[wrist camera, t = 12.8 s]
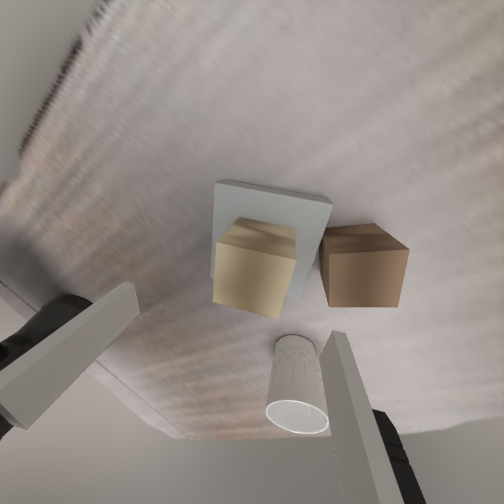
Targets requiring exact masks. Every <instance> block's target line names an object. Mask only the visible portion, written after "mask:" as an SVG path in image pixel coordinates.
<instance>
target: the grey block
mask: <svg viewBox="0 0 504 504" xmlns="http://www.w3.org/2000/svg"><path fill="white" fill-rule="evenodd" d="M333 205H334V204H333V203H332V202H331V201H330V200H329V199H328V198H325V197H319V196H314V195H308V194H302V193H297V192H291V191H286V190H280V189H275V188H269V187H264V186H258V185H253V184H247V183H242V182H236V181H230V180H222V181H218V182H215V183H214V204H213V226H212V249H211V272H210V277H211V278H214V270H215V255H216V242H217V241H218V240H219V239H220V238H221V237H222V235H223V234H224V233H225V232H226V231H227V230H228V229H229V228H230V227H231V226H232V225H233V224H234V222H235V221H236V220H237V219H238V218H239V217H242V218H247V219H252V220H257V221H262V222H267V223H271V224H276V225H281V226H286V227H291V228H295V242H296V259H297V261H296V264H295V267H294V270H293V273H292V277H291V280H290V283H289V286H288V290H287V293H286V296H289V297H294V298H298V299H301V296H302V293H303V290H304V287H305V284H306V282H307V279H308V276H309V273H310V270H311V267H312V265H313V262H314V259H315V256H316V253H317V251H318V248H319V245H320V242H321V239H322V236H323V234H324V231H325V228H326V225H327V222H328V219H329V217H330V214H331V211H332V208H333Z"/></svg>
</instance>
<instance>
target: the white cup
mask: <svg viewBox="0 0 504 504" xmlns="http://www.w3.org/2000/svg"><path fill="white" fill-rule="evenodd" d="M266 415H267V417H268V418H269V419H270V421H271V422H273V423H274V424H275V425H277V426H279V427H281V428H283V429H285V430H288V431H291V432H295V433H301V434H314V433H319V432H322V431H324V430H325V429H326V428H327V427H328V426H329V418H328V413H327V407H326V402H325V396H324V391H323V385H322V380H321V375H320V370H319V366H318V362H317V357H316V351H315V348H314V346H313V344H312V342H310V341H309V340H307V339H306V338H304V337H301V336H297V335H287V336H284V337H282V338H280V339H279V340H278V341H277V343H276V347H275V354H274V359H273V363H272V369H271V376H270V383H269V390H268V397H267V404H266Z"/></svg>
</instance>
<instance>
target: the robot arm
mask: <svg viewBox="0 0 504 504" xmlns="http://www.w3.org/2000/svg"><path fill="white" fill-rule="evenodd" d="M139 314H140V310H139V305H138V300H137V295H136V290H135V285H134V284H133V283H128V282H122V283H121V284H120V285H118V286H117V287H116V288H114V289H113V290H111V291H110V292H109V293H107V294H106V295H105V296H103V297H102V298H100V299H99V300H98V301H96V302H95V303H93V304H91V303H90V302H88V301H86V300H84V299H82V298H79V297H76V296H73V295H60V296H58V297H56V298H54V299H53V300H51V301H49V302H47V303H46V304H45V305H44V306H43V307H42V308H41V310H40V311H39V312H38V313H37V314H36V315H34V316H33V317H32V318H31V319H30V320H29V321H28V322H27V323H26V324H25V325H24V326H23V327H22V328H21V329H20V330H19V331H18V332H16V333H15V334H13V335H11V336H10V337H8V338H7V339H5V340H4V341H2V342H0V440H1V439H2V437H3V436H4V435H5V434H6V433H7V432H8V431H9V430H10V429H11V428H12V427H14V426H17V427H20V428H23V429H26V430H27V429H28V428H29V427H30V426H31V425H32V424H33V423H34V422H35V421H36V420H37V419H38V418H39V417H40V416H41V415H42V414H43V413H44V412H45V411H46V410H47V409H48V408H49V407H50V406H51V404H53V403H54V402H55V400H56V399H57V398H58V397H59V396H60V395H61V394H62V393H63V392H64V391H65V390H66V389H67V388H68V387H69V386H70V385H71V384H72V383H73V382H74V381H75V380H76V379H77V378H78V377H79V376H80V375H81V374H82V373H83V372H84V371H85V370H86V369H87V368H88V367H89V366H90V365H91V364H92V363H93V362H94V360H95V359H96V358H97V357H98V356H99V355H100V354H101V353H102V352H103V351H104V350H105V349H107V348H108V347H109V346H110V344H111V343H112V342H113V341H114V340H115V339H116V338H117V337H118V336H119V335H120V334H121V333H122V332H123V331H124V330H125V329H126V328H127V327H128V326H129V325H130V324H131V323H132V321H133V320H134V319H135V318H136V317H137V316H138V315H139ZM319 361H320V367H321V374H322V380H323V386H324V392H325V398H326V404H327V410H328V417H329V423H330V429H331V435H332V441H333V447H334V453H335V459H336V465H337V472H338V478H339V484H340V490H341V496H342V502H343V504H426V502H425V499H424V497H423V494H422V492H421V489H420V487H419V484H418V482H417V480H416V477H415V475H414V472H413V470H412V467H411V466H410V465H409V460H408V458H407V455H406V453H405V450H404V449H403V445H402V443H401V440H400V438H399V435H398V433H397V431H396V428H395V427H394V425H393V424H392V422H391V421H390V419H389V418H388V416H387V415H386V413H385V412H382V411H378V410H374V409H372V408H371V405H370V402H369V400H368V397H367V394H366V391H365V388H364V385H363V382H362V379H361V376H360V373H359V370H358V368H357V365H356V362H355V359H354V356H353V353H352V350H351V347H350V344H349V341H348V338H347V336H346V333H342V332H338V331H334V330H333V331H332V333H331V335H330V337H329V339H328V341H327V343H326V345H325V347H324V349H323V351H322V353H321V355H320V357H319Z"/></svg>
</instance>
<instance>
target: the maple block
mask: <svg viewBox="0 0 504 504" xmlns="http://www.w3.org/2000/svg"><path fill="white" fill-rule="evenodd" d="M296 261H297V259H296V242H295V228H291V227H286V226H281V225H276V224H271V223H267V222H262V221H257V220H252V219H247V218H242V217H239V218H238V219H237V220H236V221H235V222H234V224H233V225H232V226H231V227H230V228H229V229H228V230H227V231H226V232H225V233H224V234H223V235H222V237H221V238H220V239H219V240H218V241H217V242H216V255H215V270H214V286H213V302H214V303H217V304H221V305H225V306H229V307H233V308H237V309H241V310H245V311H248V312H252V313H256V314H260V315H264V316H268V317H272V318H276V319H279V315H280V312H281V309H282V306H283V303H284V299H285V296H286V293H287V290H288V286H289V283H290V280H291V277H292V273H293V270H294V267H295V264H296Z"/></svg>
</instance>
